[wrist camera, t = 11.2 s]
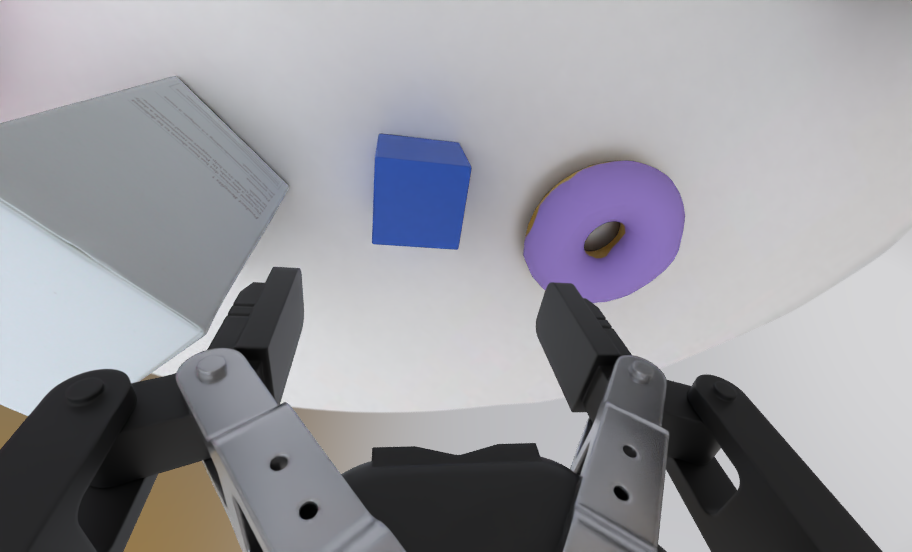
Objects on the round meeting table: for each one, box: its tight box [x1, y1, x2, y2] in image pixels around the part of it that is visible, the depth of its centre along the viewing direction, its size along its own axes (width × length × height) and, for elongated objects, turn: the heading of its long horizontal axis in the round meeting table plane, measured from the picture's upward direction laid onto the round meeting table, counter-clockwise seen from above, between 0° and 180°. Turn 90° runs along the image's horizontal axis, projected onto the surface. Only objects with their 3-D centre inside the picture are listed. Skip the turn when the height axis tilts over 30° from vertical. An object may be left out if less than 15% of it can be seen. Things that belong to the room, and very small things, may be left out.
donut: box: [523, 161, 685, 303], centre depth 25 cm, size 10×9×5 cm
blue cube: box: [372, 134, 472, 250], centre depth 21 cm, size 4×4×4 cm
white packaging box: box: [0, 76, 289, 416], centre depth 16 cm, size 7×7×13 cm
